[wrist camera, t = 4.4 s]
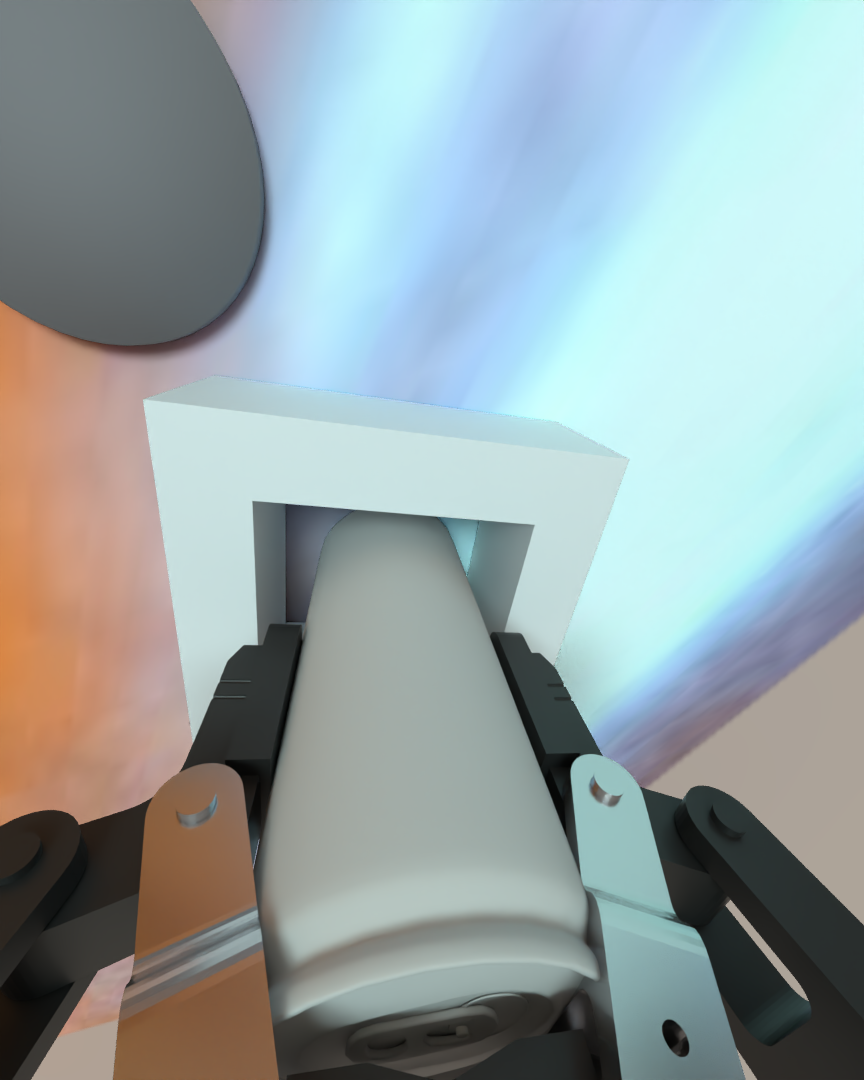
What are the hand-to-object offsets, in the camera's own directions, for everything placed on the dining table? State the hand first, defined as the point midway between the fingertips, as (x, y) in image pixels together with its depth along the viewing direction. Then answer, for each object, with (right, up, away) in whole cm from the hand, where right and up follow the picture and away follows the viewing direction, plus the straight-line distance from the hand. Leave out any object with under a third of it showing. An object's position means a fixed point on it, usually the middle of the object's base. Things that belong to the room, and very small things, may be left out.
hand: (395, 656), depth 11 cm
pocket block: (-1, +3, +5) cm, 6 cm away
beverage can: (-1, +3, +5) cm, 6 cm away
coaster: (-7, +12, -1) cm, 14 cm away
